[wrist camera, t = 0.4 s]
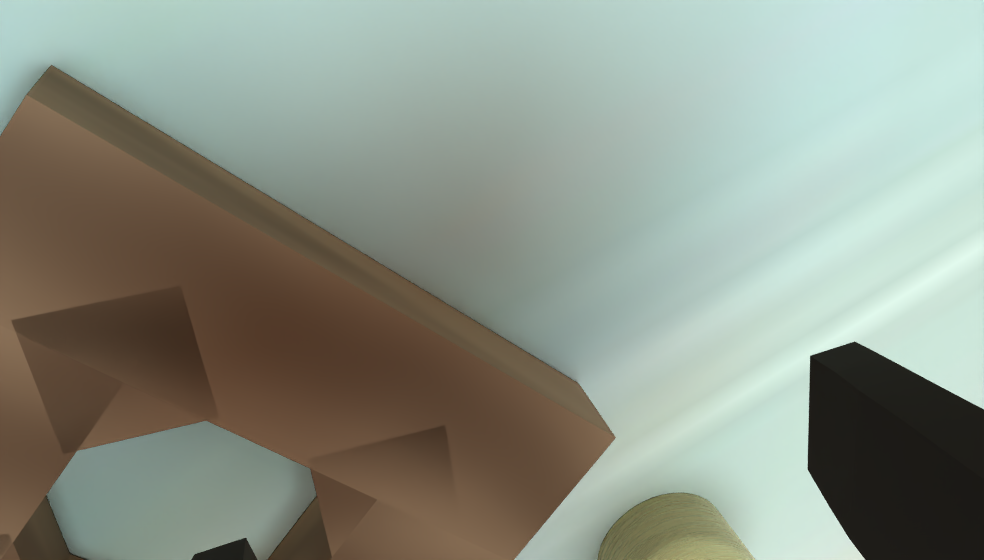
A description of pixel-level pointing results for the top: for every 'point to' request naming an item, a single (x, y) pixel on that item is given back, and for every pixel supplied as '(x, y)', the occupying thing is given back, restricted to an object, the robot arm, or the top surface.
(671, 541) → the cylinder
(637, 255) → the top surface
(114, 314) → the jig plate
